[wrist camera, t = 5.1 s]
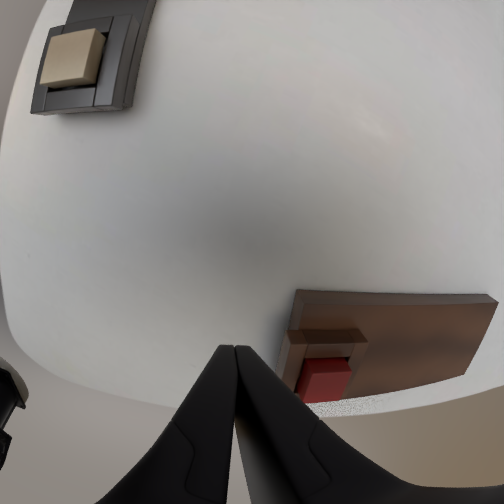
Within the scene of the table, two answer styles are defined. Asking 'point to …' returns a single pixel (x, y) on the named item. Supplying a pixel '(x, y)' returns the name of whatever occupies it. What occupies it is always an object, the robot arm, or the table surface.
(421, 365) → the walnut key block
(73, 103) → the black key block
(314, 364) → the red key
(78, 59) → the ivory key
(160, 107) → the table surface
